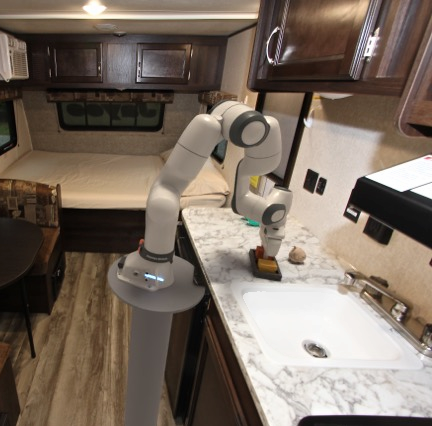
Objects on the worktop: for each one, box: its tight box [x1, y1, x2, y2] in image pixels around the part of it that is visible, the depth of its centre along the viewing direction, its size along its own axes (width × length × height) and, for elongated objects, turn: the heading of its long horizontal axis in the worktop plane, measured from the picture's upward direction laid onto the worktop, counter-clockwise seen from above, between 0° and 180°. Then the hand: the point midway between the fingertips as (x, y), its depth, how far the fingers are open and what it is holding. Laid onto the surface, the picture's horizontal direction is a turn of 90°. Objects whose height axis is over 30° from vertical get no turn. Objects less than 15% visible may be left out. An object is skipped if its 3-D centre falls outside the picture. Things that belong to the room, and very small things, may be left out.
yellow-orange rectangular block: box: [257, 259, 277, 273], centre depth 117 cm, size 6×4×4 cm
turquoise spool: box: [244, 217, 260, 227], centre depth 157 cm, size 10×10×10 cm
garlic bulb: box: [288, 245, 307, 263], centre depth 124 cm, size 7×6×8 cm
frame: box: [248, 248, 283, 282], centre depth 121 cm, size 10×18×3 cm, turn 163°
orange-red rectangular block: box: [255, 245, 273, 261], centre depth 124 cm, size 6×4×4 cm
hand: (263, 254), depth 124 cm, fingers closed on orange-red rectangular block, 4 cm apart
